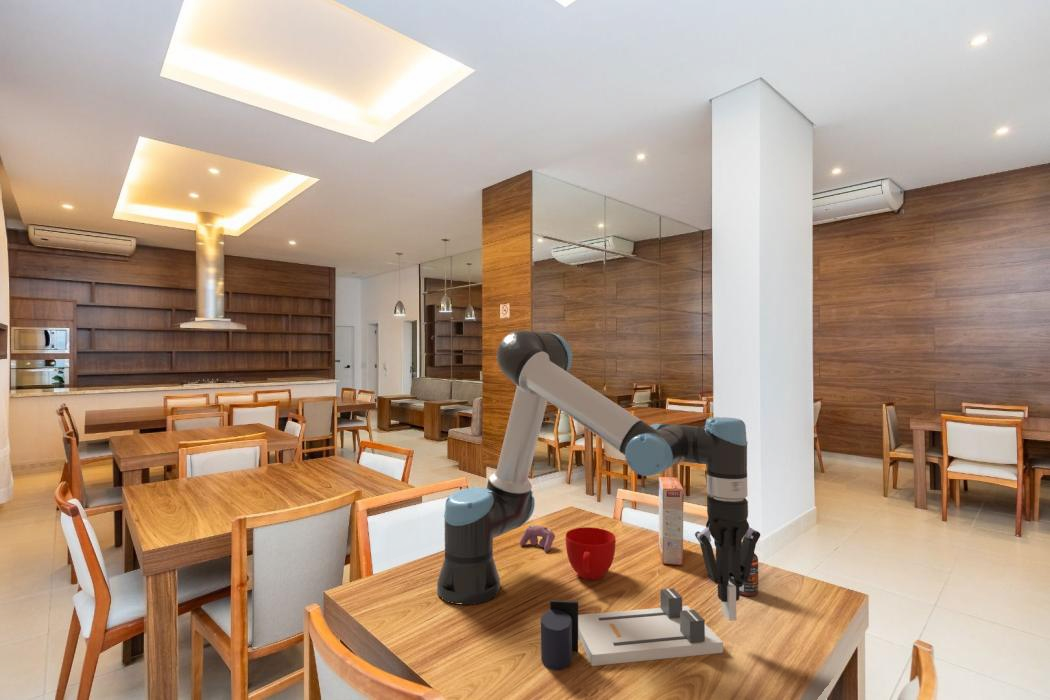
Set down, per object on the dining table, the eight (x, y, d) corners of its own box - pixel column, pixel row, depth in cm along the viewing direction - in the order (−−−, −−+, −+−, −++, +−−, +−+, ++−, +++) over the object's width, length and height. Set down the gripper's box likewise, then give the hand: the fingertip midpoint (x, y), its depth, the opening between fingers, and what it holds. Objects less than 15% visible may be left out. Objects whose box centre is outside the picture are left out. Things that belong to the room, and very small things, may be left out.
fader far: (668, 617, 102) (668, 598, 102) (660, 608, 106) (660, 589, 106) (682, 616, 102) (682, 597, 102) (673, 606, 106) (673, 588, 106)
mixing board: (592, 665, 89) (592, 654, 89) (572, 624, 103) (572, 614, 103) (723, 652, 93) (723, 641, 93) (687, 614, 107) (687, 605, 107)
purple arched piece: (553, 554, 144) (558, 530, 147) (546, 552, 141) (551, 527, 143) (524, 547, 149) (530, 524, 152) (517, 545, 146) (523, 521, 149)
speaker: (551, 642, 96) (551, 592, 95) (578, 651, 94) (579, 600, 93) (535, 668, 90) (535, 614, 89) (564, 678, 87) (565, 623, 86)
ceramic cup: (559, 589, 119) (559, 548, 119) (569, 561, 135) (569, 525, 135) (613, 596, 116) (613, 553, 116) (616, 566, 132) (616, 529, 132)
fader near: (690, 642, 93) (690, 621, 93) (680, 630, 97) (679, 610, 97) (704, 641, 93) (704, 619, 93) (694, 629, 97) (694, 609, 97)
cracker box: (684, 566, 132) (684, 489, 133) (661, 564, 133) (661, 487, 134) (679, 547, 146) (678, 476, 146) (658, 545, 147) (657, 475, 147)
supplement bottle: (745, 599, 114) (744, 550, 114) (725, 588, 120) (725, 541, 120) (764, 594, 117) (763, 547, 117) (744, 584, 122) (744, 538, 122)
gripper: (706, 503, 92) (708, 630, 92) (769, 500, 94) (771, 623, 94) (687, 493, 99) (688, 610, 99) (745, 490, 102) (747, 604, 101)
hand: (728, 616), depth 96 cm, fingers closed
